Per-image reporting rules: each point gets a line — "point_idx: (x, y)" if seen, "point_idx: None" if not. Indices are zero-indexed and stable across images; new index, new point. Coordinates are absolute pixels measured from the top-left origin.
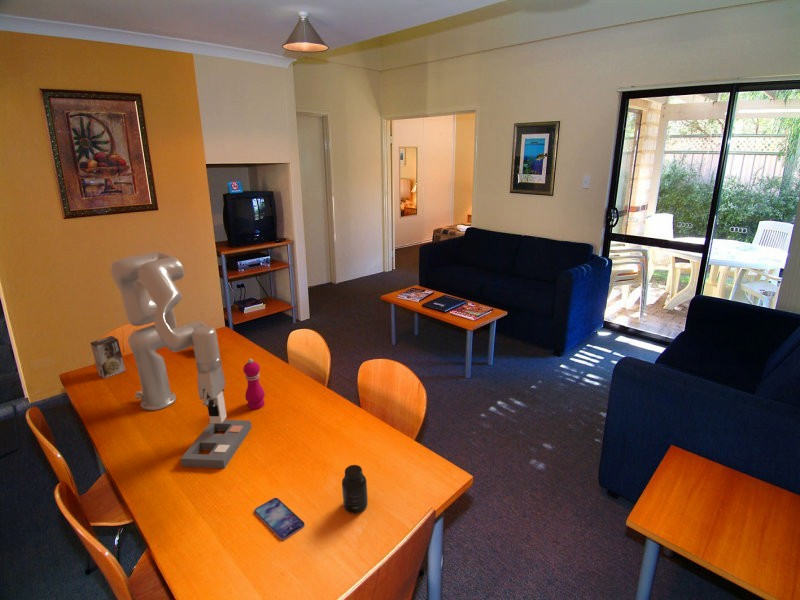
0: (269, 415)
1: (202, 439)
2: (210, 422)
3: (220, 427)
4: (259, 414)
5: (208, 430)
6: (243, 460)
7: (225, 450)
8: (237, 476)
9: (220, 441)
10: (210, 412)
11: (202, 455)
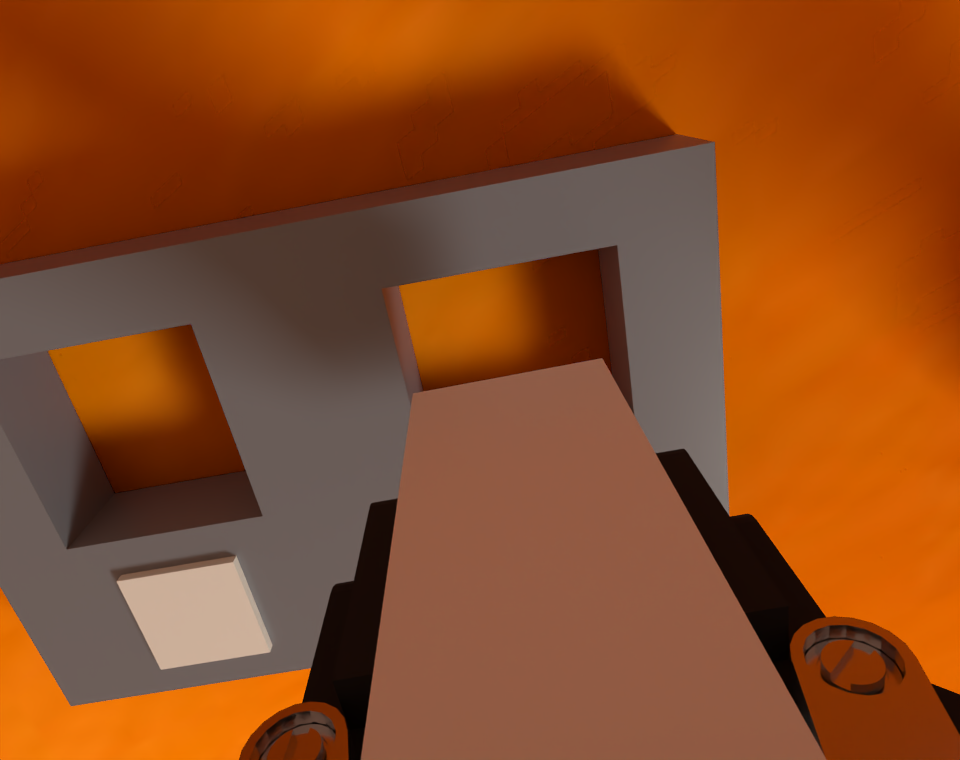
0: (926, 584)
1: (251, 317)
2: (413, 400)
3: (612, 294)
4: (949, 492)
5: (445, 263)
6: (257, 703)
7: (181, 664)
8: (89, 752)
9: (298, 531)
10: (331, 628)
11: (21, 501)
